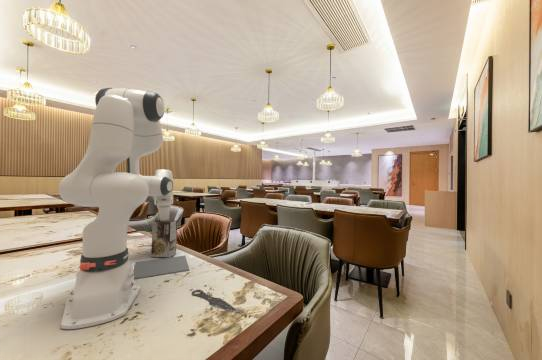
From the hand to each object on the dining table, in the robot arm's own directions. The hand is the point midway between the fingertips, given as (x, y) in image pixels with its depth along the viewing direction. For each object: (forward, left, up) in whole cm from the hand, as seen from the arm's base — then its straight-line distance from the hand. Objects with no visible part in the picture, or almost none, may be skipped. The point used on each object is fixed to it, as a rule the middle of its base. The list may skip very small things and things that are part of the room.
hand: (163, 227), depth 117 cm
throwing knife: (-60, -13, -11) cm, 62 cm away
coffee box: (-12, 0, -11) cm, 16 cm away
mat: (-25, +1, -11) cm, 27 cm away
